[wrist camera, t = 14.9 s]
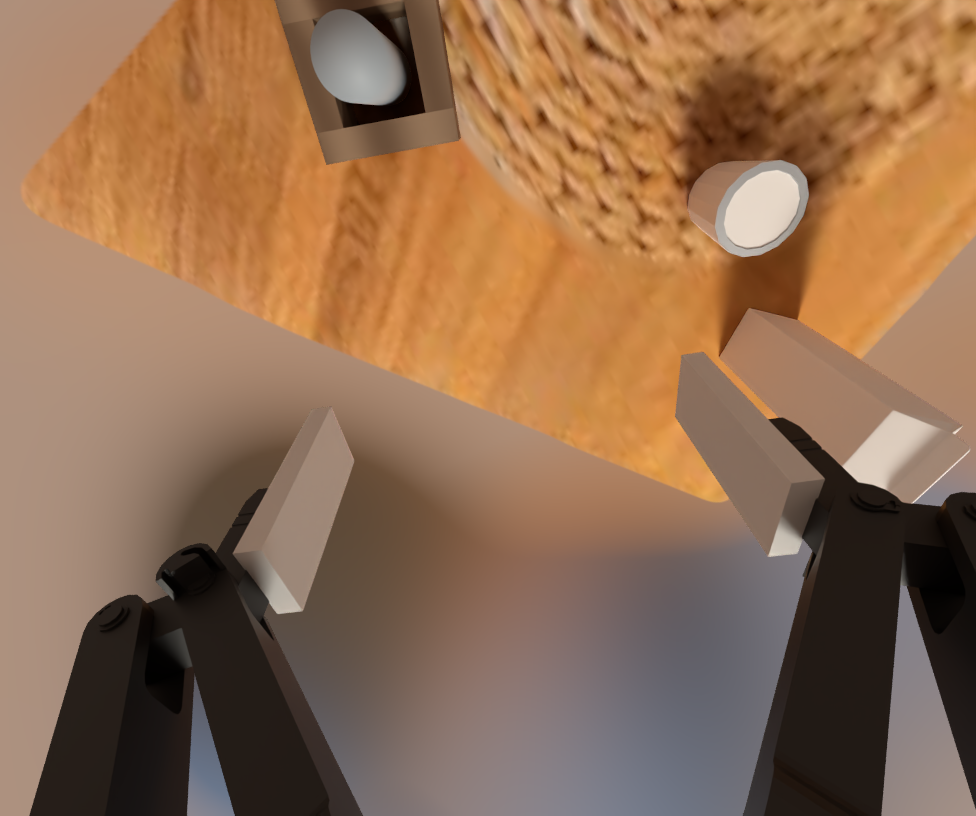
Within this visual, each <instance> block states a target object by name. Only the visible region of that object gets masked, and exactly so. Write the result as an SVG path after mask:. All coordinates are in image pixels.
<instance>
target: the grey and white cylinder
mask: <svg viewBox="0 0 976 816" xmlns="http://www.w3.org/2000/svg"><path fill="white" fill-rule="evenodd" d="M808 197H809V193H808V186H807V179H806V177H805V176H804V174H803V173H802V172H801V171H800V169H799V168H798V167H797V166H796V165H794V164H791V163H788V162H785V161H782V160H761V161H729V162H722V163H718V164H716V165H714V166H712V167H711V168H709V169H707V170H705V172H704V173H703V174H702V175H701V176H700V177H699V178H698V179H697V180H696V181H695V183H694V185H693V187H692V190H691V192H690V194H689V199H688V212H689V215H690V219H691V220H692V221H693V222H694V223H695V224H696V225H697V226H698V227H699V228H700V229H701V230H702V231H703V232H705V233H706V234H707V235H708V236H709V237H711V238H712V239H713V240H714V241H715V242H717V243H718V244H719V245H720V246H721V247H723V248H724V249H725V250H726V251H727V252H729V253H731V254H735V255H738V256H741V257H749V256H756V255H761V254H763V253H765V252H767V251H769V250H771V249H773V248H775V247H777V246H779V245H780V244H781V243H782V242H783V241H784V240H785V239H786V238H787V237H788V236H790V235H791V234H792V233H793V231H794V230H795V228H796V227H797V225H798V223H799V222H800V220H801V219H802V217H803V215H804V213H805V209H806V205H807V201H808Z"/></svg>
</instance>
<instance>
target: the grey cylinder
mask: <svg viewBox="0 0 976 816" xmlns="http://www.w3.org/2000/svg"><path fill="white" fill-rule="evenodd" d="M310 52H311V60H312V64H313V67H314V70H315V72H316V74H317V77H318V78H319V80H320V82H321V83H322V84H323V86H324V87H325V88H326V89H327V90H328V91H329V92H330V93H331V94H332V95H333V96H335V97H336V98H338V99H340V100H342V101H345V102H349V103H358V104H370V105H381V106H393V105H396V104H398V103H400V102H401V101H402V100H404V98H405V97H406V96H407V94H408V92H409V90H410V86H411V69H410V65H409V62H408V60H407V58H406V56H405V55H404V53H403V52H402V51H401V50H400V49H399V48H398V47H397V46H396V45H395V44H394V43H393V42H391V41H390V40H389V39H388V38H387V37H386V36H385V35H383V34H382V33H381V32H380V31H379V30H378V29H377V28H375V27H374V26H373V25H372V24H371V23H370V22H369V21H367V20H366V19H365V18H364V17H362V16H361V15H359V14H358V13H356V12H353V11H351V10H346V9H337V10H333V11H330V12H328V13H326V14H325V15H324V16H322V18H321V19H320V20H319V21H318V22H317V24H316V26H315V28H314V30H313V33H312V37H311V44H310Z"/></svg>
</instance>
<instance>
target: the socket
mask: <svg viewBox="0 0 976 816" xmlns="http://www.w3.org/2000/svg"><path fill="white" fill-rule="evenodd" d="M275 3H276V6H277V9H278V13H279V16H280V19H281V22H282V25H283V28H284V32H285V35H286V38H287V41H288V44H289V47H290V51H291V54H292V57H293V60H294V63H295V66H296V70H297V73H298V76H299V79H300V82H301V86H302V89H303V92H304V95H305V98H306V101H307V105H308V108H309V111H310V114H311V117H312V120H313V124H314V127H315V130H316V133H317V136H318V139H319V143H320V146H321V149H322V152H323V155H324V158H325V162H326V165H328V164H333V163H339V162H344V161H350V160H355V159H361V158H366V157H372V156H377V155H383V154H388V153H394V152H399V151H405V150H410V149H416V148H421V147H427V146H432V145H438V144H443V143H449V142H454V141H459V139H460V138H461V137H460V131H459V125H458V118H457V112H456V106H455V100H454V94H453V87H452V81H451V75H450V69H449V62H448V56H447V50H446V44H445V38H444V31H443V25H442V19H441V13H440V6H439V0H275ZM337 9H346V10H351V11H353V12H356V13H358V14H359V15H361V16H362V17H364V18H365V19H366V20H367V21H369V22H370V23H374V22H379V21H384V20H389V19H394V18H399V17H404V16H407V19H408V24H409V29H410V35H411V40H412V45H413V50H414V55H415V60H416V66H417V71H418V76H419V81H420V86H421V91H422V97H423V102H424V107H425V112H426V113H423V114H418V115H413V116H407V117H402V118H396V119H391V120H386V121H380V122H375V123H370V124H364V125H359V126H358V122H357V118H356V115H355V111H354V107H353V103H349V102H345V101H342V100H340V99H338V98H336V97H335V96H333V95H332V94H331V93H330V92H329V91H328V90H327V89H326V88H325V87H324V86H323V84H322V83H321V82H320V80H319V78H318V77H317V74H316V72H315V70H314V67H313V64H312V60H311V52H310V44H311V37H312V33H313V30H314V28H315V26H316V24H317V22H318V21H319V20H320V19H321V18H322V16H324V15H325V14H326V13H328V12H330V11H333V10H337Z"/></svg>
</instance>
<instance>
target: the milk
mask: <svg viewBox="0 0 976 816" xmlns="http://www.w3.org/2000/svg"><path fill="white" fill-rule="evenodd" d="M719 358H720V359H721V360H722V361H723V362H724V363H725V364H726V365H727V366H728V367H729V368H730V369H731V370H732V371H733V372H734V373H735V374H736V375H737V376H738V377H739V378H740V379H741V380H742V381H743V382H744V383H745V384H746V385H747V386H748V387H749V388H750V389H751V390H752V391H753V392H754V393H755V394H756V395H757V396H758V397H759V398H760V399H761V400H762V401H763V402H764V403H765V404H766V405H767V406H768V407H769V408H770V409H771V410H772V411H773V412H774V413H775V414H776V415H777V416H778V417H779V418H782V417H783V418H785V419H787V420H789V421H791V422H793V423H795V424H796V425H798V426H800V427H801V428H802V429H803V430H804V431H805V432H807V433H808V434H809V435H810V436H811V437H812V440H815V441H816V442H817V443H818V444H819V445H820V446H821V447H822V450H825V451H826V452H827V453H828V454H829V455H830V456H831V457H833V458H834V459H835V460H836V461H837V462H838V463H839V464H840V465H841V466H842V467H843V468H844V469H845V470H846V471H847V472H848V473H849V474H850V475H851V476H852V477H853V478H854V479H855V480H856V481H858V482H860V483H866V484H871V485H875V486H877V487H880V488H883V489H885V490H887V491H889V492H890V493H892V494H893V495H895V496H897V497H898V498H899V500H900V501H901V502H904V503H912V504H913V503H914V502H915V501H916V500H917V499H918V498H919V497H920V496H922V495H923V494H924V493H925V492H926V491H927V490H928V489H929V488H930V487H931V486H932V485H933V484H934V483H935V482H937V481H938V480H939V479H940V478H941V477H942V476H943V475H944V474H945V473H947V472H948V471H949V470H950V469H951V468H952V467H953V466H954V465H955V464H956V463H957V462H958V461H959V460H961V459H962V458H963V457H964V456H965V455H966V454H967V453H968V452H969V451H970V445H969V444H968V443H967V442H965V441H964V440H962V439H961V438H959V437H958V436H956V435H955V434H956V433H957V432H958V431H959V430H960V429H961V428H962V427H963V425H962V424H960V423H959V422H957V421H955V420H954V419H952V418H951V417H949V416H948V415H946V414H944V413H943V412H941V411H940V410H938V409H937V408H935V407H934V406H932V405H930V404H929V403H927V402H926V401H924V400H923V399H921V398H919V397H918V396H916V395H915V394H913V393H912V392H910V391H908V390H907V389H905V388H904V387H902V386H900V385H899V384H897V383H896V382H894V381H893V380H891V379H890V378H888V377H887V376H885V375H883V374H882V373H880V372H879V371H877V370H876V369H874V368H872V367H871V366H869V365H868V364H866V363H865V362H863V361H861V360H860V359H858V358H857V357H855V356H854V355H852V354H850V353H849V352H847V351H846V350H844V349H843V348H841V347H840V346H838V345H836V344H835V343H833V342H832V341H830V340H829V339H827V338H825V337H824V336H822V335H821V334H819V333H818V332H816V331H814V330H813V329H811V328H810V327H808V326H807V325H805V324H803V323H802V322H800V321H799V320H796V319H792V318H788V317H784V316H780V315H776V314H772V313H768V312H764V311H760V310H756V309H752V308H748V310H747V312H746V313H745V315H744V317H743V318H742V320H741V322H740V323H739V325H738V327H737V328H736V330H735V332H734V333H733V335H732V337H731V338H730V340H729V342H728V343H727V345H726V347H725V348H724V350H723V352H722V353H721V355H720V357H719Z"/></svg>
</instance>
